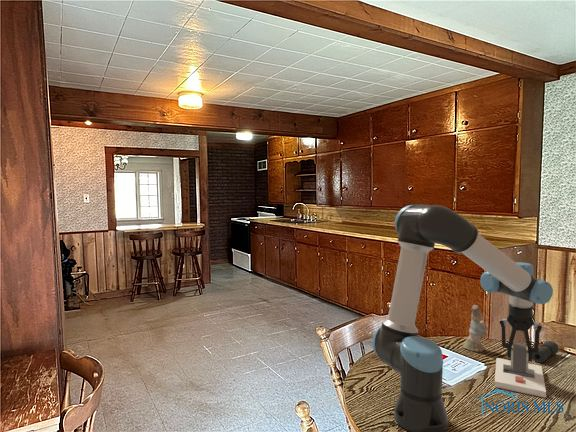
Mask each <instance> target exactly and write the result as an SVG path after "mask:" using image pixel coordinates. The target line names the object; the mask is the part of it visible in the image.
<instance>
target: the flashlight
mask: <svg viewBox="0 0 576 432" xmlns="http://www.w3.org/2000/svg"><path fill="white" fill-rule="evenodd" d="M559 351H560V347H559V345H558V343H557V342H556V341H554V340H546V341H544V342H543V343H542V344H541V345H539V348H538V352H533V353H532V361H534V362H536V363H539V364H540V363H541V364H542V363H544V362H545V361H547V359H548V358H549V357H552V356H554V355H556V354H557V353H559Z"/></svg>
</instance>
